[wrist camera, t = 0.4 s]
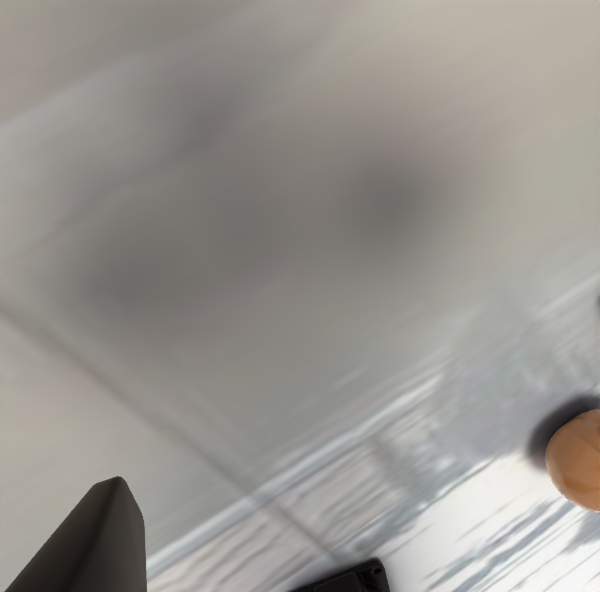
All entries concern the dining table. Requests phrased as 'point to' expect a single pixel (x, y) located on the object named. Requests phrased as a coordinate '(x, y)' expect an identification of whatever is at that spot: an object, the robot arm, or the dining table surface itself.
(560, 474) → the egg
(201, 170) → the dining table surface
